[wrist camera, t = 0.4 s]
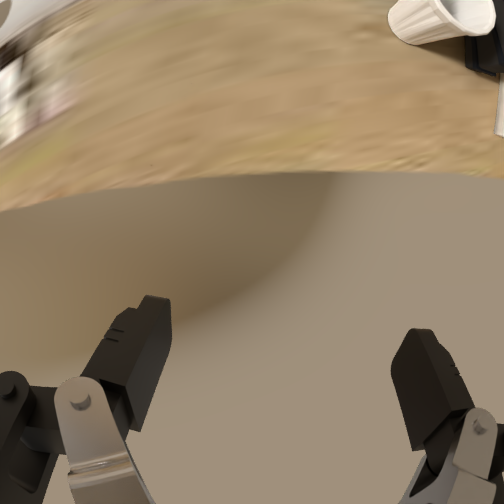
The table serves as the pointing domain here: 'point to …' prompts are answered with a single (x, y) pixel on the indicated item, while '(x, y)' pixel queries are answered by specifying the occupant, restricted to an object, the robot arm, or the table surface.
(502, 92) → the cradle
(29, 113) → the table surface
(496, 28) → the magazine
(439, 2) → the cup
